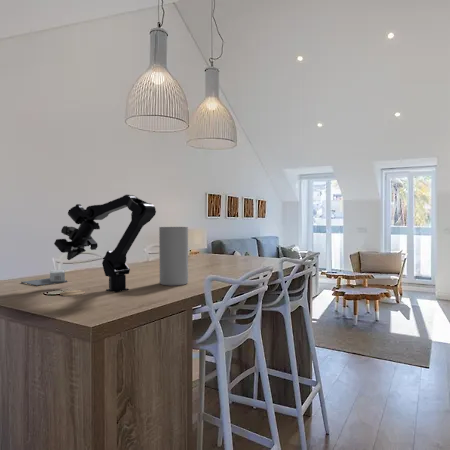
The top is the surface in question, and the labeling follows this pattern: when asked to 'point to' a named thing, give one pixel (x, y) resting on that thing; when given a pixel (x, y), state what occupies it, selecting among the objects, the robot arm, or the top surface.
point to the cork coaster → (72, 293)
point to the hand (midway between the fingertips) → (68, 259)
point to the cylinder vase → (173, 255)
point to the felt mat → (42, 282)
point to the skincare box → (57, 275)
